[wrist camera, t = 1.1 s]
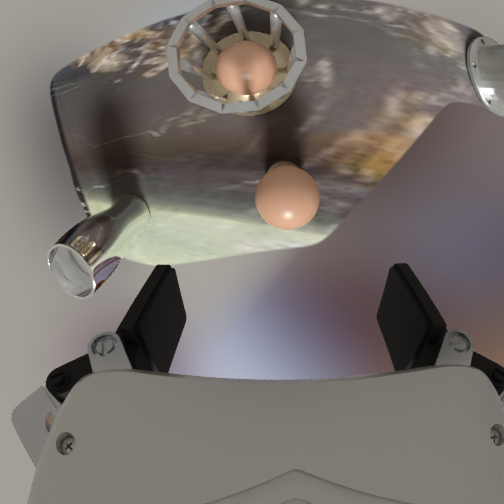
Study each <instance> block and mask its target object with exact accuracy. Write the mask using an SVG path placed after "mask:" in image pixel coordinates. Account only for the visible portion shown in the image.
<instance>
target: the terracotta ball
mask: <svg viewBox="0 0 504 504" xmlns="http://www.w3.org/2000/svg"><path fill="white" fill-rule="evenodd" d="M255 202H256V207H257V209H258V211H259V213H260V215H261V217H262V218H263V219H264V220H265V221H266V222H267V223H269V224H270V225H272V226H274V227H276V228H279V229H285V230H290V229H296V228H299V227H301V226H303V225H305V224H306V223H308V222H309V221H310V220H311V219H312V218H313V216H314V215H315V213H316V211H317V209H318V205H319V191H318V188H317V185H316V183H315V181H314V180H313V178H312V177H311V176H310V175H309V174H308V173H306V172H305V171H304V170H302V169H300V168H297V167H293V166H280V167H277V168H274V169H272V170H270V171H269V172H267V173H266V174H265V175H264V176H263V177H262V178H261V180H260V181H259V183H258V185H257V188H256V192H255Z"/></svg>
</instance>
